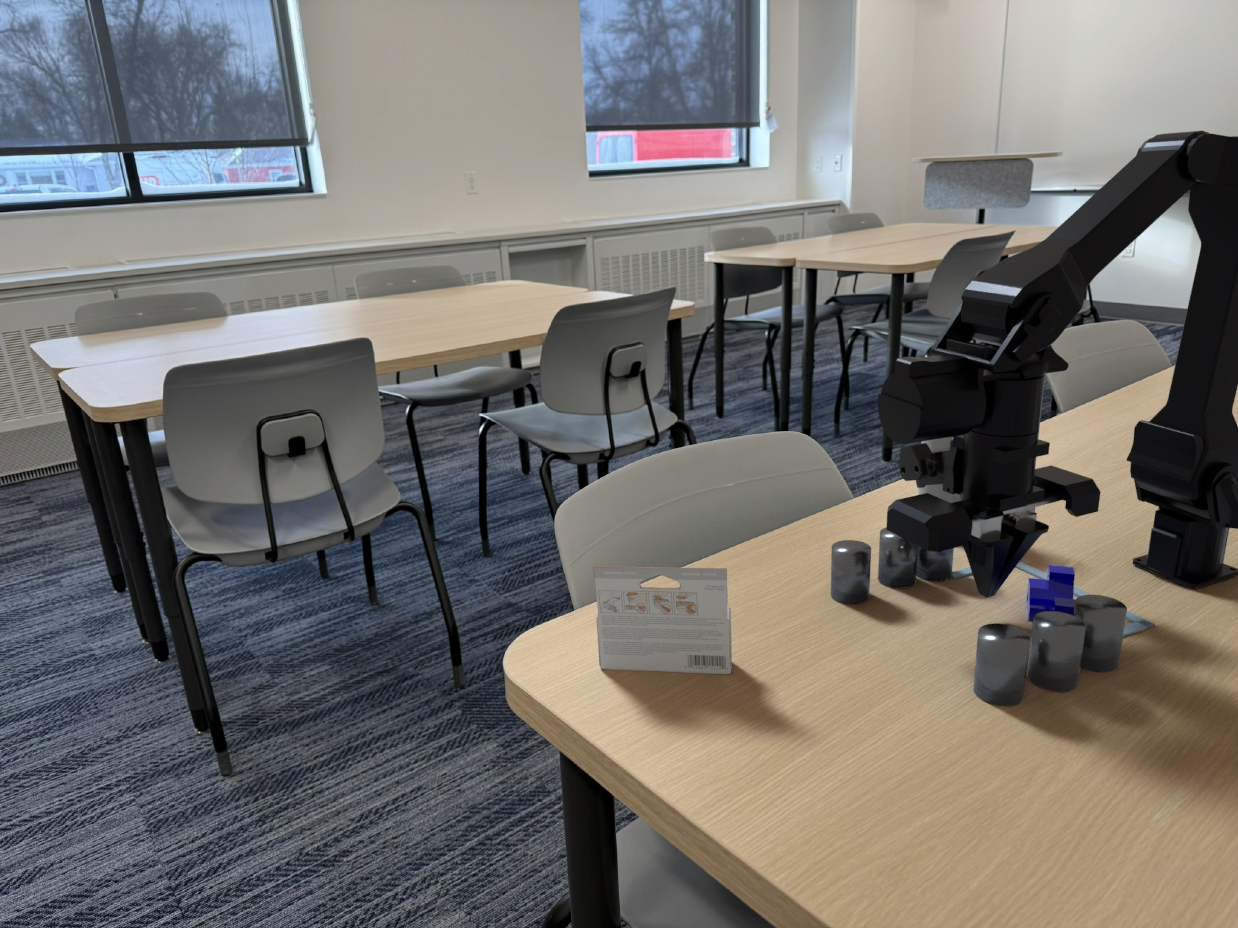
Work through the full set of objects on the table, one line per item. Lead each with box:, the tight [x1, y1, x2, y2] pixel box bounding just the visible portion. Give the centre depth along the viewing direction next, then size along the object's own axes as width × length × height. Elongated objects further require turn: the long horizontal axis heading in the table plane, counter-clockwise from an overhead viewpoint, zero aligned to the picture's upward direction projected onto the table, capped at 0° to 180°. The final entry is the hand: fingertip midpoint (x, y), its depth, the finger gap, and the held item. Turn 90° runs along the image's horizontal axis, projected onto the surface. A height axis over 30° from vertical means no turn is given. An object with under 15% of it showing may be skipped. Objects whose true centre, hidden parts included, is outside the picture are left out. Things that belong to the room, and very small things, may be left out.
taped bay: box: [951, 560, 1155, 637], centre depth 79 cm, size 8×16×1 cm, turn 22°
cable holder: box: [1025, 564, 1076, 623], centre depth 75 cm, size 8×4×4 cm, turn 158°
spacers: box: [830, 527, 1128, 707], centre depth 75 cm, size 14×23×5 cm, turn 22°
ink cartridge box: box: [592, 566, 733, 675], centre depth 71 cm, size 2×11×10 cm, turn 80°
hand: (986, 595), depth 76 cm, fingers closed
